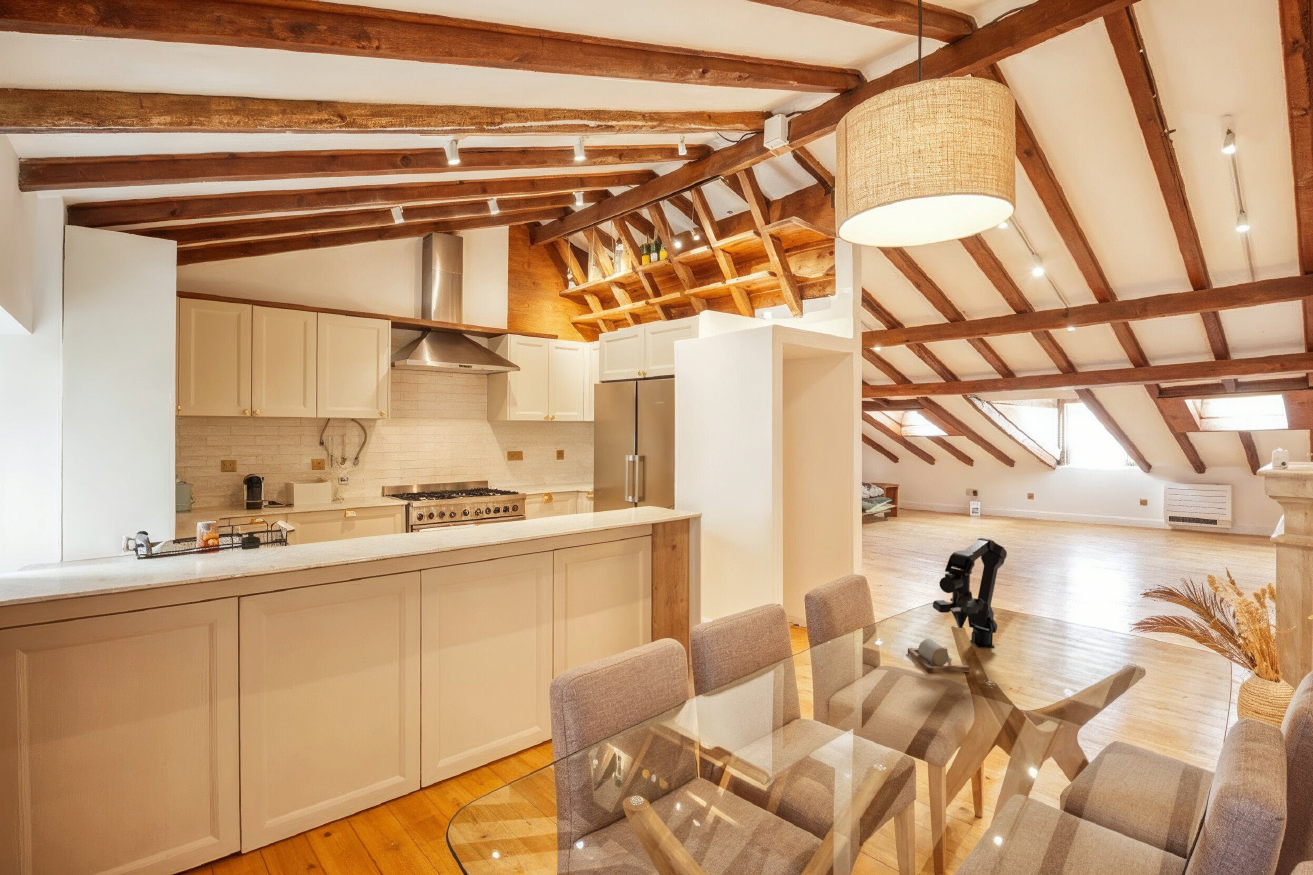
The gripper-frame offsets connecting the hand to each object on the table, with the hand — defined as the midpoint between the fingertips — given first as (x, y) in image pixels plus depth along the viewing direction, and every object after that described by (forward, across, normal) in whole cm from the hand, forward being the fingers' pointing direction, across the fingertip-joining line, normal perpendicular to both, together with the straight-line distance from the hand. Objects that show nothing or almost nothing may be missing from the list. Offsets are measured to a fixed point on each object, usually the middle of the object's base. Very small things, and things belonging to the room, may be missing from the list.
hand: (960, 627), depth 235 cm
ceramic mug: (+11, -11, -4) cm, 16 cm away
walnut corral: (+11, -11, -5) cm, 16 cm away
